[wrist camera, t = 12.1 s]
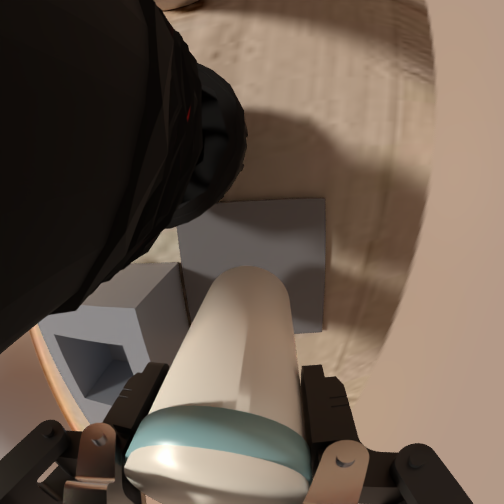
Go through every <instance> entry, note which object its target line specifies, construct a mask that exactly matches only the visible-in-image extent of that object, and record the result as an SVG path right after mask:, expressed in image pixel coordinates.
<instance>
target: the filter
mask: <svg viewBox="0 0 504 504" xmlns="http://www.w3.org/2000/svg"><path fill="white" fill-rule="evenodd" d="M247 136H248V133H247V128H246V124H245V119H244V110H243V108H242V106H241V104H240V102H239V100H238V98H237V97H236V95H235V93H234V91H233V89H232V87H231V85H230V84H229V83H227V82H226V81H225V80H224V79H223V78H222V77H221V76H219V75H218V74H217V73H216V72H214V71H213V70H211V69H209V68H207V67H205V66H203V65H201V64H199V63H197V60H196V59H195V58H194V56H193V55H192V54H191V53H190V51H189V48H188V45H187V44H186V43H185V42H184V41H183V38H182V36H181V35H180V33H179V32H177V31H176V30H174V29H173V27H172V26H171V24H170V23H169V21H168V20H167V18H166V17H165V15H164V14H163V12H162V10H161V8H159V7H158V6H157V5H156V3H155V1H154V0H0V354H1V353H2V352H3V351H4V350H6V349H7V348H8V347H9V346H10V345H12V344H13V343H14V342H15V341H16V340H18V339H19V338H20V337H21V336H22V335H24V334H25V333H26V332H27V331H29V330H30V329H31V328H32V327H34V326H35V325H36V324H37V323H39V322H40V321H41V320H43V319H44V318H45V317H46V316H48V315H53V314H59V313H66V312H72V311H76V310H77V309H78V308H79V307H80V306H81V304H82V303H83V302H84V301H85V300H86V299H87V297H88V296H89V295H91V294H93V293H94V291H95V290H96V289H97V288H98V287H99V285H100V284H101V283H104V282H107V281H110V280H111V279H112V278H113V277H114V276H115V274H117V273H119V271H120V270H124V269H125V268H126V267H127V266H129V265H130V263H131V262H133V261H134V260H136V259H138V257H140V256H142V255H144V254H145V253H147V252H148V251H149V250H150V248H151V247H152V245H153V244H154V242H155V241H156V239H157V238H158V236H159V235H160V233H161V232H162V231H163V230H164V229H170V228H173V227H176V226H179V225H182V224H185V223H188V222H190V221H192V220H194V219H196V218H197V217H199V216H201V215H202V214H203V213H204V212H206V211H207V210H208V209H210V208H211V207H212V206H213V205H214V204H216V203H217V202H218V201H219V200H220V199H222V198H223V197H224V194H225V193H226V192H227V191H228V190H229V189H230V187H231V186H232V184H233V182H234V181H235V179H236V177H237V175H238V174H239V172H240V171H242V169H243V167H244V164H242V163H243V160H244V156H245V152H246V148H247V144H246V137H247Z"/></svg>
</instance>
